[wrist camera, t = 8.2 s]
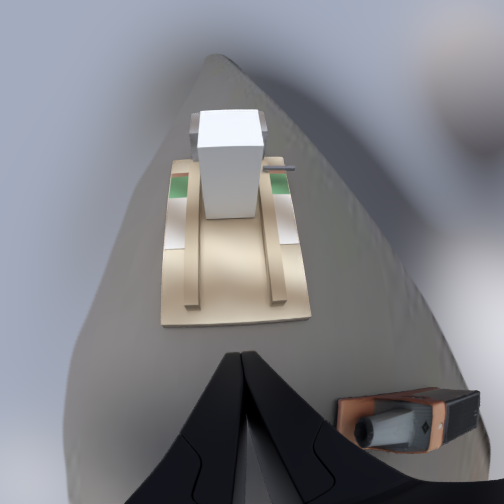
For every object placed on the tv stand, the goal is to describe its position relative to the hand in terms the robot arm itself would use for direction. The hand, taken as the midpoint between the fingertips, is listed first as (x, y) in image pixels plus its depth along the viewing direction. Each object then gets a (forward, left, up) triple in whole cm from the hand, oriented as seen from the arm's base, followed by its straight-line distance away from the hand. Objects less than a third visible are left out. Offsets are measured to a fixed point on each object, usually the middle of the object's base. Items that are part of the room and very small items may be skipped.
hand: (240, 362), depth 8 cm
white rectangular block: (+14, -4, -11) cm, 18 cm away
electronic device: (-7, -10, -13) cm, 18 cm away
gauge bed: (+12, -2, -12) cm, 17 cm away
